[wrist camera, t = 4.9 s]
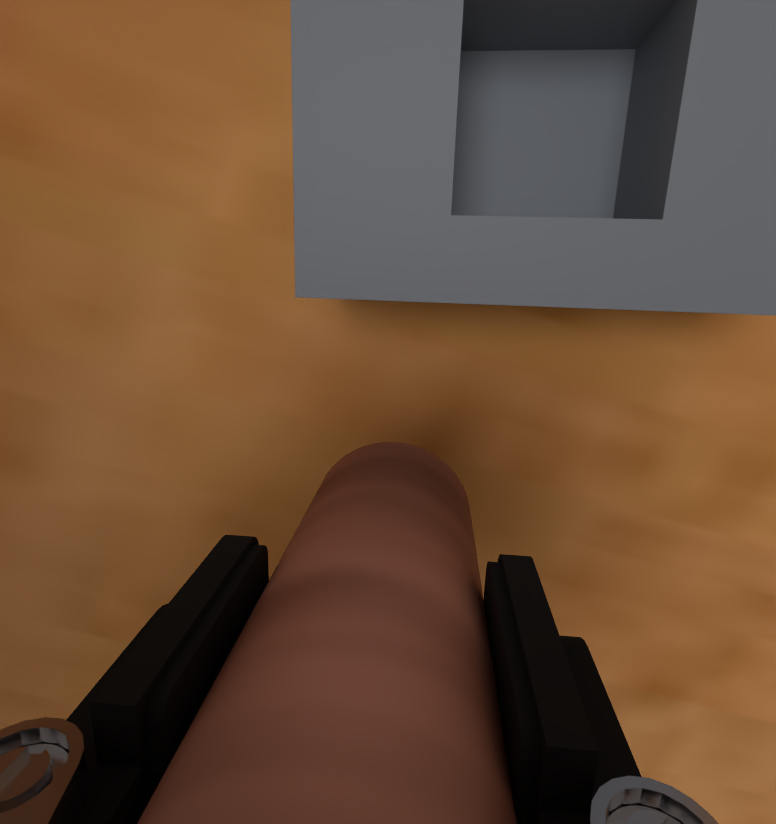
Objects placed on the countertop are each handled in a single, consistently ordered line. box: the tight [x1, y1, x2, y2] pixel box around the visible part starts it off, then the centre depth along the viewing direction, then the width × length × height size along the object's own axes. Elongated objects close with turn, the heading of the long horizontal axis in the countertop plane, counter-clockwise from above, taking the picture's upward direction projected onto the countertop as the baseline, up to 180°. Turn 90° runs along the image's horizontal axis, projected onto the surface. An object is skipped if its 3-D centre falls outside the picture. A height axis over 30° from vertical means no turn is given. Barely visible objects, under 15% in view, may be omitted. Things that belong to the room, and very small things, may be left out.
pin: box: [137, 442, 517, 824], centre depth 8 cm, size 4×4×12 cm
